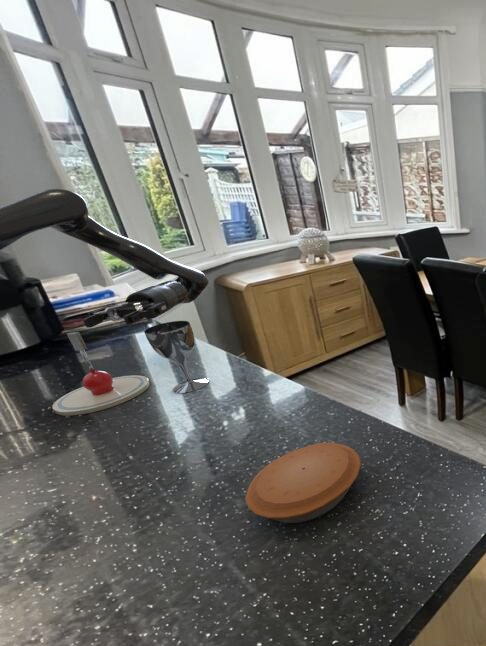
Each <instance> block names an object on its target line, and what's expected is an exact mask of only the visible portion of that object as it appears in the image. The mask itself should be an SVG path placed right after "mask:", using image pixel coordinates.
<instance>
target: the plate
mask: <svg viewBox="0 0 486 646" xmlns="http://www.w3.org/2000/svg"><path fill="white" fill-rule="evenodd" d="M112 378H113V384H112V386H113V387H114V389H113V390H112V391H110V392H108V393H105V394H101V395H92V393H91V391H89V390H87V389H86V388H85V387H84V386H81V387H79V388H77V389H74V390H72V391H69V392H68V393H66V394H65V395H63V396H61V397H59V398H58V399H57V400H56V401H54V403H53V404H52V406H51V407H52V408H51V409H52V410H53V412H54V414H56V415H59V416H66V417H68V416H79V415H87V414H90V413H91V414H92V413H96V412H100V411H103V410H107V409H109V408H113V407H115V406H118V405H121V404H123V403H125V402H128V401H130V400H132V399H135V398H136V397H138V396H140V395H141V394H143V393H144V392H146V391H147V389H148V388H149V387H150V385H151V382H150V380H149V378H148V377H147V376H144V375H140V374H139V375H138V374H137V375H136V374H135V375H131V374H130V375H123V376H122V375H121V376H117V377H112Z"/></svg>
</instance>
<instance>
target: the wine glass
mask: <svg viewBox="0 0 486 646" xmlns="http://www.w3.org/2000/svg"><path fill="white" fill-rule="evenodd" d="M193 331H194V330H193V328H192V326H191V323H190V322H189V321H187V320H174V321H173V320H172V321H168V322H163V323H160V324H155V325H152V326H150V327H148V328H146V329H145V330H144V331H143V333H144V335H145V338H146V339H147V341H148V344H149V345H150V346H151V348H152V349H153V350H154V352H155V353H156V354H157V355H159V356H160V357H162V358H165V359H166V360H169V361H171V362H174V363H175V364H176V365H178V366H179V368H180V369H181V371H182V373H183V374H184V377H185V379H186V380H185V381H182V382H181V383H179V384H177V385H176V386H174V387H173V388H172V392H173V393H174V394H186V393H191V392H194V391H197V390H200V389H202V388H204V387H206V386H207V385H208V384H209V383H210V382H209V380H210V379H209V380H207V379H208V378H207V379H206V377H197V378H191V376H190V373H189V369H188V365H187V363H188V359H189V357H190V355H191V353H192V351H193V350H194V348H195V336H194V335H195V334H194V332H193ZM208 382H209V383H208Z"/></svg>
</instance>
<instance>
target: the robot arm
mask: <svg viewBox="0 0 486 646" xmlns="http://www.w3.org/2000/svg"><path fill="white" fill-rule="evenodd" d="M47 228H51V229H53V230H55V231H58V232H60V233H62V234H65V235H67V236H69V237H71V238H75V240H78V241H82V242H83V243H86V244H88V245H90V246H92V247H95V248H96V249H99V250H101V251H102V252H105V253H107V254H109V255H110V256H112V257H115V258H117V259H118V260H120V261H121V262H124V263H126V264H127V265H129V266H130V267H132V268H134V269H135V270H138V271H139V272H141V273H143V274H144V275H146V276H148V277H150V278H152V279H154V280H157V281H161V280H163V279H164V278H166V277H168V276H169V275H172V276H175V277H177V278H176V279H175V280H167V281H164V282H161V283H157V284H156V285H151V286H147V287H145V288H143V289H140V290H137V291H135V292H132V293H130V294H128V296H127V297H126V298H125V301H124V302H123V303H121V302H120V303H119V304H117V305H109V304H108V305H105V306H103V307H100V308H97V309H94V310H92V311H89V312H87V315H88V316H87V317H85V318H83V319H82V321H83V324H84V326H85V327H86V328H93V327H95V326H99V325H100V324H102V323H106V322H109V321H111V322H119V321H123V320H124V322H125V324H126V325H127V326H128V325H129V326H130V325H133V324H135V323H137V322H139V321H145V320H146V321H147V320H153V319H156V318H158V317H159V316H161V315H163V314H165V313H167V312H169V311H171V310H172V309H174V308H175V307H177V306H179V305H182V304H189V303H192V302H194V301H195V300H196V299H198V297H199V296H200V295H201V294H202V292H204V290H205V289H206V288H207V287H208V285H209V278H208V277H207V275H206V274H205V273H204V272H202V271H200V270H199V269H196V268H193V267H190V266H187V265H184V264H181V263H180V262H177V261H173V260H171V259H170V258H167V257H165V256H164V255H162V254H160V253H159V252H157V251H156V250H154V249H153V248H151V247H149V246H147V245H145V244H143V243H140V242H138V241H136V240H133V239H130V238H128V237H125V236H122V235H120V234H117V233H116V232H114V231H112V230H110V229H108V228H106V227H105V226H103V225H102V224H100V223H99V222H97V221H96V220H95V219H94V218H92V217H91V216H89V207H88V203H87V202H86V200H85V199H84V198H83V197H82V196H81V195H80V194H78V193H76V192H74V191H72V190H69V189H64V188H49V189H43V190H41V191H38V192H37V193H33V194H31V195H28V196H26V197H23V198H21V199H18V200H16V201H13V202H10V203H8V204H4V205H2V206H0V252H1V251H3V250H5V249H6V248H7V247H10V246H11V245H12V244H14V243H15V242H18V241H19V240H20V239H22V238H23V237H25V236H27V235H30V234H32V233H34V232H38V231H40V230H45V229H47ZM115 315H117V317H116V316H115Z"/></svg>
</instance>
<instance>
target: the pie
mask: <svg viewBox="0 0 486 646" xmlns="http://www.w3.org/2000/svg"><path fill="white" fill-rule="evenodd" d="M361 466H362V463H361V457H360V455H359V454H358V452H357V451H356V450H355V449H353V448H351V447H350V446H348V445H345V444H340V443H336V442H319V443H314V444H311V445H306V446H303V447H300V448H298V449H297V448H296V449H294V450H291V451H289V452H287V453H286V454H283V455H282V456H280V457H277V458H275V459H274V460H273V461H271V462H270V463H269V464H267V465H265V466H264V467H263V468H262V469H261V470H260V471H259V472H258V473H257V474H256V475H255V476H254V477H253V479H252V481H251V482H250V484H249V486H248V488H247V490H246V494H245V498H244V500H245V503H246V506H247V509H249V510H250V511H251V512H252V513H253V514H255V515H256V516H259V517H262V518H266V519H271V520H273V521H276V522H279V523H283V524H300V523H305V522H309V521H312V520H314V519H317V518H319V517H321V516H323V515H325V514H326V513H328V512H330V511H331V510H333V509H334V508H335V507H337V505H339V504H340V502H342V501H343V499H344V498H345V497H346V495H347V494H348V492H349V490H350V488H351V486H352V485H353V483H354V482H355V480H357V478H358V475H359V473H360V469H361Z"/></svg>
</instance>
